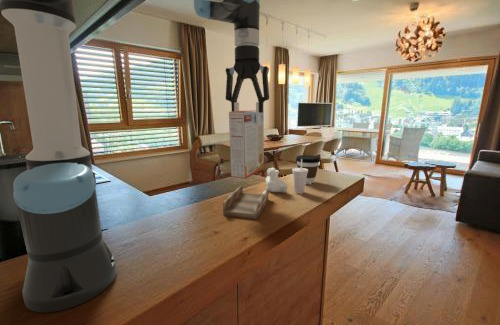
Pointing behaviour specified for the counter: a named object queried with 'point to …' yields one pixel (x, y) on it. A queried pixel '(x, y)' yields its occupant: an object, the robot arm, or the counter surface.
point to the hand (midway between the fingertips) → (247, 122)
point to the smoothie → (299, 179)
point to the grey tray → (244, 204)
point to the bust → (275, 181)
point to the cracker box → (246, 143)
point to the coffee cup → (309, 166)
